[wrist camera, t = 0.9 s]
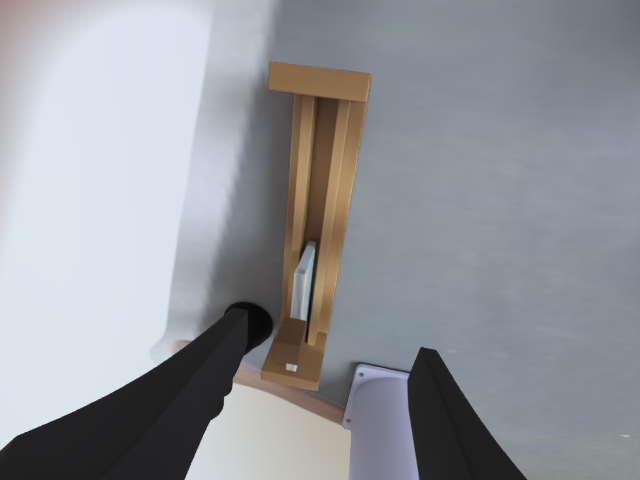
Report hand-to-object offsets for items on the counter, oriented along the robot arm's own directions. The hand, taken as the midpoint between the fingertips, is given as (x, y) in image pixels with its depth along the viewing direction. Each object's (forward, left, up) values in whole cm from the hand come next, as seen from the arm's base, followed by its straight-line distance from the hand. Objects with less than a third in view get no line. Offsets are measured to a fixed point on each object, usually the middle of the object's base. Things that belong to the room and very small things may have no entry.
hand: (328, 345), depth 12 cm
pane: (-4, +2, -8) cm, 9 cm away
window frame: (+1, +2, -10) cm, 10 cm away
